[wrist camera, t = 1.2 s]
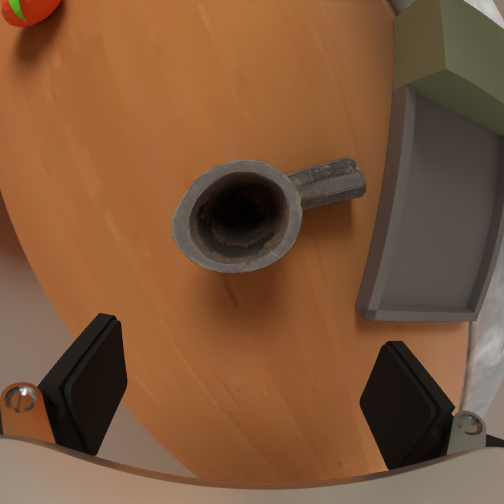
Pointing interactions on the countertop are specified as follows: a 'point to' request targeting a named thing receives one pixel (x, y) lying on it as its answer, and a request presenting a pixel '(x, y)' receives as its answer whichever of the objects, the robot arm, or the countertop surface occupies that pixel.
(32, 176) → the countertop surface
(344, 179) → the pipe
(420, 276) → the gray tray
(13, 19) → the clementine
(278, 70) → the countertop surface
